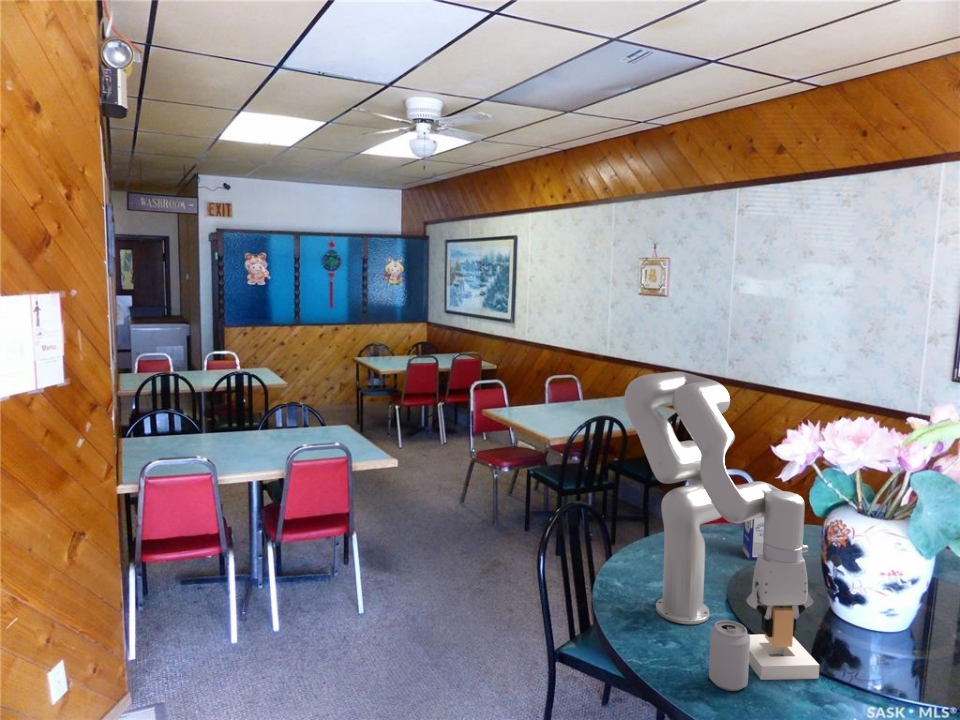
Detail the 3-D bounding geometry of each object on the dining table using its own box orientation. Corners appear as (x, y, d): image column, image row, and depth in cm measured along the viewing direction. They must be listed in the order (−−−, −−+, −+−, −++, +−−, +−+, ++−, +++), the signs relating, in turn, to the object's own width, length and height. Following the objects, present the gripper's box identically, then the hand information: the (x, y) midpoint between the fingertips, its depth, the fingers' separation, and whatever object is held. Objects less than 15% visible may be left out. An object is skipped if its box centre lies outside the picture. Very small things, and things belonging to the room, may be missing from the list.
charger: (764, 636, 144) (766, 601, 143) (783, 636, 144) (784, 600, 143) (773, 647, 140) (775, 610, 139) (792, 646, 140) (794, 609, 139)
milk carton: (742, 550, 201) (745, 486, 198) (765, 551, 200) (768, 487, 198) (749, 560, 194) (752, 494, 191) (773, 561, 193) (777, 494, 191)
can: (738, 671, 140) (741, 617, 138) (754, 693, 132) (757, 636, 131) (703, 671, 140) (705, 617, 138) (717, 694, 132) (719, 637, 131)
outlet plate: (736, 647, 149) (737, 634, 148) (790, 646, 149) (790, 633, 149) (760, 679, 137) (761, 666, 136) (818, 678, 137) (819, 665, 137)
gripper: (812, 543, 144) (807, 623, 146) (735, 544, 143) (732, 625, 145) (831, 558, 136) (826, 642, 138) (750, 559, 136) (746, 644, 138)
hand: (778, 632), depth 142 cm, fingers closed on charger, 4 cm apart
